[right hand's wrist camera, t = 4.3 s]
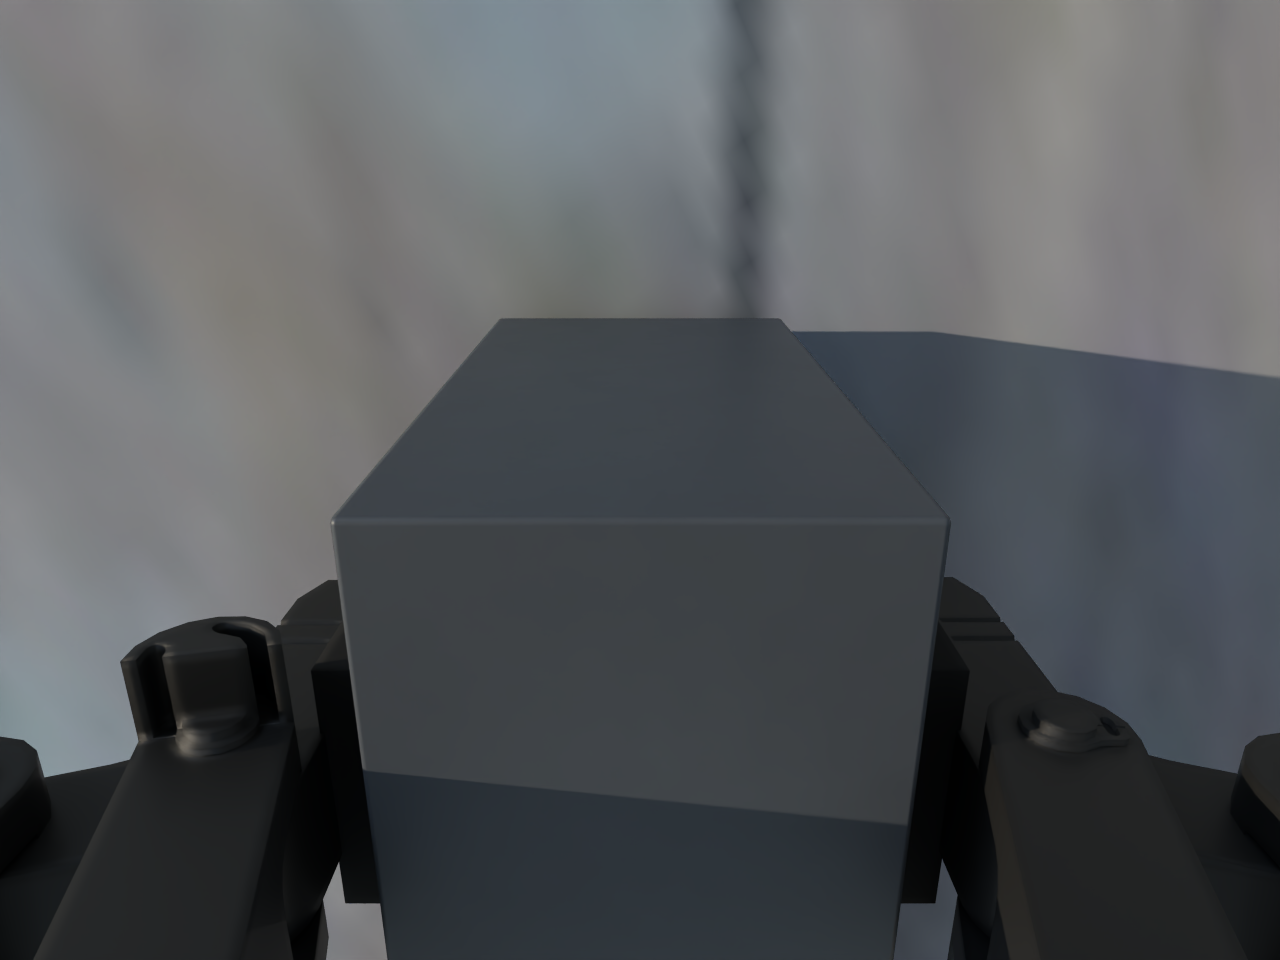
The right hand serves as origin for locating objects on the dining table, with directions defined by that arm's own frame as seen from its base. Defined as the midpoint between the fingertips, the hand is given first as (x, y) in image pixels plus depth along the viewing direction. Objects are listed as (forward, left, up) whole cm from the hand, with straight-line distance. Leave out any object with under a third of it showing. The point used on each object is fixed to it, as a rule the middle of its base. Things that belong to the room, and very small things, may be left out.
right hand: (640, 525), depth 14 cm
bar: (+4, +8, -1) cm, 9 cm away
